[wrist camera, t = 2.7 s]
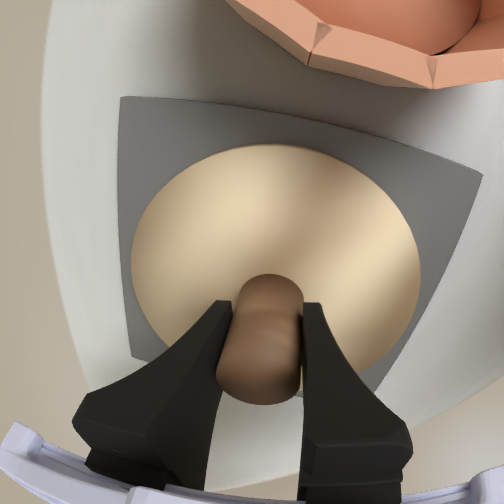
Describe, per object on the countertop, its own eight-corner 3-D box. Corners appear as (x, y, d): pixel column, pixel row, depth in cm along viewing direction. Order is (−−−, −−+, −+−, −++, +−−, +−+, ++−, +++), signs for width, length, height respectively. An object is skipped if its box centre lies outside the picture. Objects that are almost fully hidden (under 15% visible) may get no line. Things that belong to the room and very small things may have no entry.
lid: (457, 189, 11) (525, 252, 6) (357, 394, 18) (361, 469, 13) (139, 122, 12) (54, 154, 7) (145, 351, 18) (110, 419, 14)
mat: (476, 170, 11) (483, 174, 10) (364, 397, 19) (365, 404, 18) (127, 96, 12) (120, 97, 11) (135, 350, 19) (131, 356, 19)
